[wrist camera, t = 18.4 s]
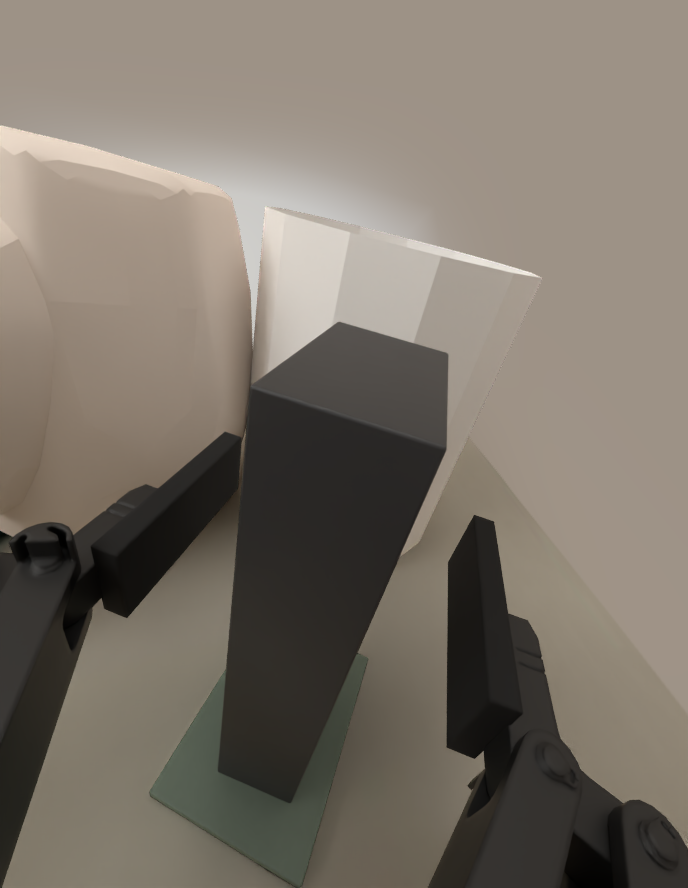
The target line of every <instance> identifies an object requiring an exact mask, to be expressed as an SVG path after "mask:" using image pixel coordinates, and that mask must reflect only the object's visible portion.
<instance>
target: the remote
mask: <svg viewBox="0 0 688 888" xmlns="http://www.w3.org/2000/svg"><path fill="white" fill-rule="evenodd" d="M448 357H449V356H448V353H446V352H442V351H439V350H435V349H432V348H428V347H425V346H422V345H418V344H415V343H411V342H408V341H404V340H401V339H397V338H394V337H390V336H387V335H384V334H380V333H377V332H373V331H370V330H366V329H363V328H359V327H356V326H353V325H349V324H346V323H342V322H337V323H336V324H334V325H333V326H332V327H330V328H329V329H327V330H326V331H325V332H323V333H322V334H321V335H319V336H318V337H316V338H315V339H314V340H312V341H311V342H310V343H308V344H307V345H306V346H304V347H303V348H301V349H300V350H299V351H297V352H296V353H295V354H293V355H292V356H290V357H289V358H288V359H286V360H285V361H284V362H282V363H281V364H279V365H278V366H277V367H275V368H274V369H273V370H271V371H270V372H269V373H267V374H266V375H264V376H263V377H262V378H260V379H259V380H258V381H256V382H255V383H253V384H252V385H251V387H250V394H249V406H248V417H247V429H246V441H245V453H244V465H243V476H242V488H241V500H240V512H239V523H238V535H237V547H236V559H235V571H234V582H233V594H232V606H231V618H230V629H229V641H228V653H227V665H226V677H225V688H224V700H223V712H222V724H221V736H220V747H219V759H218V772H219V773H222V774H224V775H226V776H228V777H231V778H233V779H235V780H238V781H240V782H242V783H244V784H247V785H249V786H251V787H253V788H256V789H258V790H260V791H262V792H265V793H267V794H269V795H271V796H274V797H276V798H278V799H281V800H283V801H285V802H287V803H291V802H292V800H293V798H294V796H295V793H296V791H297V789H298V787H299V784H300V782H301V780H302V778H303V775H304V773H305V771H306V768H307V766H308V764H309V762H310V759H311V757H312V755H313V753H314V750H315V748H316V746H317V743H318V741H319V739H320V737H321V734H322V732H323V730H324V728H325V725H326V723H327V721H328V718H329V716H330V714H331V712H332V709H333V707H334V705H335V703H336V700H337V698H338V696H339V693H340V691H341V689H342V687H343V684H344V682H345V680H346V678H347V675H348V673H349V671H350V668H351V666H352V664H353V662H354V659H355V657H356V655H357V652H358V650H359V648H360V646H361V643H362V641H363V639H364V637H365V634H366V632H367V630H368V627H369V625H370V623H371V621H372V618H373V616H374V614H375V612H376V609H377V607H378V605H379V602H380V600H381V598H382V596H383V593H384V591H385V589H386V587H387V584H388V582H389V580H390V577H391V575H392V573H393V571H394V568H395V566H396V564H397V562H398V559H399V557H400V555H401V552H402V550H403V548H404V546H405V543H406V541H407V539H408V537H409V534H410V532H411V530H412V527H413V525H414V523H415V521H416V518H417V516H418V514H419V512H420V509H421V507H422V505H423V502H424V500H425V498H426V496H427V493H428V491H429V489H430V487H431V484H432V482H433V480H434V477H435V475H436V473H437V471H438V468H439V466H440V464H441V462H442V459H443V457H444V455H445V452H446V450H447V406H448Z"/></svg>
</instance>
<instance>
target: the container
mask: <svg viewBox="0 0 688 888" xmlns="http://www.w3.org/2000/svg"><path fill="white" fill-rule="evenodd" d="M541 281H542V278H541V277H539V276H537V275H534V274H533V273H530V272H527V271H523V270H520V269H517V268H514V267H510V266H507V265H504V264H500V263H497V262H493V261H490V260H486V259H482V258H479V257H475V256H471V255H468V254H465V253H461V252H458V251H454V250H450V249H446V248H442V247H439V246H435V245H431V244H427V243H423V242H420V241H415V240H412V239H408V238H404V237H400V236H396V235H392V234H389V233H384V232H381V231H377V230H373V229H369V228H365V227H360V226H356V225H352V224H348V223H344V222H340V221H336V220H331V219H327V218H323V217H319V216H314V215H310V214H305V213H301V212H296V211H291V210H286V209H282V208H275V207H265V215H264V226H263V238H262V249H261V261H260V273H259V286H258V297H257V309H256V320H255V333H254V345H253V356H252V368H251V380H250V387H251V385H252V384H253V383H255V382H256V381H258V380H259V379H260V378H262V377H263V376H264V375H266V374H267V373H269V372H270V371H271V370H273V369H274V368H275V367H277V366H278V365H279V364H281V363H282V362H284V361H285V360H286V359H288V358H289V357H290V356H292V355H293V354H295V353H296V352H297V351H299V350H300V349H301V348H303V347H304V346H306V345H307V344H308V343H310V342H311V341H312V340H314V339H315V338H316V337H318V336H319V335H321V334H322V333H323V332H325V331H326V330H327V329H329V328H330V327H332V326H333V325H334V324H336V323H337V322H342V323H346V324H349V325H353V326H356V327H359V328H363V329H366V330H370V331H373V332H377V333H380V334H384V335H387V336H390V337H394V338H397V339H401V340H404V341H408V342H411V343H415V344H418V345H422V346H425V347H428V348H432V349H435V350H439V351H442V352H446V353H448V356H449V357H448V406H447V450H446V452H445V455H444V457H443V459H442V462H441V464H440V466H439V468H438V471H437V473H436V475H435V477H434V480H433V482H432V484H431V487H430V489H429V491H428V493H427V496H426V498H425V500H424V502H423V505H422V507H421V509H420V512H419V514H418V516H417V518H416V521H415V523H414V525H413V527H412V530H411V532H410V534H409V537H408V539H407V541H406V543H405V546H404V548H403V550H402V552H401V555H400V557H401V556H402V555H403V554H405V553H406V552H407V551H409V550H410V549H411V548H412V547H414V546H415V545H416V544H418V543H419V542H420V540H421V537H422V535H423V533H424V531H425V529H426V527H427V525H428V522H429V520H430V518H431V516H432V514H433V512H434V510H435V507H436V505H437V503H438V501H439V499H440V497H441V495H442V493H443V490H444V488H445V486H446V484H447V482H448V480H449V478H450V475H451V473H452V471H453V469H454V467H455V465H456V463H457V460H458V458H459V456H460V454H461V452H462V450H463V448H464V445H465V443H466V441H467V439H468V437H469V435H470V433H471V431H472V428H473V426H474V424H475V422H476V420H477V418H478V415H479V413H480V411H481V409H482V407H483V405H484V403H485V400H486V398H487V396H488V394H489V392H490V390H491V388H492V386H493V383H494V381H495V379H496V377H497V375H498V373H499V371H500V368H501V366H502V364H503V362H504V360H505V358H506V356H507V354H508V351H509V349H510V347H511V345H512V343H513V341H514V339H515V336H516V334H517V332H518V330H519V327H520V326H521V324H522V321H523V319H524V317H525V315H526V313H527V310H528V309H529V306H530V304H531V302H532V300H533V298H534V296H535V294H536V292H537V289H538V287H539V285H540V283H541ZM246 429H247V427H246ZM245 441H246V439H245ZM244 453H245V450H244ZM243 465H244V462H243ZM242 476H243V474H242ZM241 488H242V486H241ZM400 557H399V558H400Z"/></svg>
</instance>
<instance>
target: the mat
mask: <svg viewBox="0 0 688 888" xmlns="http://www.w3.org/2000/svg"><path fill="white" fill-rule="evenodd" d="M367 661H368V658H367V657H365V656H363V655H361V654H358V653H357V655H356V657H355V659H354V662H353V664H352V666H351V668H350V671H349V673H348V675H347V678H346V680H345V682H344V684H343V687H342V689H341V691H340V693H339V696H338V698H337V700H336V703H335V705H334V707H333V709H332V712H331V714H330V716H329V718H328V721H327V723H326V725H325V728H324V730H323V732H322V734H321V737H320V739H319V741H318V743H317V746H316V748H315V750H314V753H313V755H312V757H311V759H310V762H309V764H308V766H307V768H306V771H305V773H304V775H303V778H302V780H301V782H300V784H299V787H298V789H297V791H296V793H295V796H294V798H293V800H292V802H291V803H287V802H285V801H283V800H281V799H278V798H276V797H274V796H271V795H269V794H267V793H265V792H262V791H260V790H258V789H256V788H253V787H251V786H249V785H247V784H244V783H242V782H240V781H238V780H235V779H233V778H231V777H228V776H226V775H224V774H222V773H219V772H218V759H219V747H220V736H221V724H222V712H223V700H224V688H225V677H226V670H225V671H224V673H223V675H222V676H221V678H220V679H219V681H218V683H217V684H216V686H215V687H214V689H213V691H212V692H211V694H210V695H209V697H208V699H207V700H206V702H205V703H204V705H203V707H202V708H201V710H200V711H199V713H198V715H197V716H196V718H195V719H194V721H193V723H192V724H191V726H190V727H189V729H188V731H187V732H186V734H185V735H184V737H183V739H182V740H181V742H180V743H179V745H178V747H177V748H176V750H175V752H174V753H173V755H172V756H171V758H170V760H169V761H168V763H167V764H166V766H165V768H164V769H163V771H162V772H161V774H160V776H159V777H158V779H157V780H156V782H155V784H154V785H153V787H152V788H151V790H150V792H149V793H150V796H151V797H152V798H154V799H156V800H157V801H159V802H160V803H162V804H164V805H165V806H167V807H168V808H170V809H171V810H173V811H175V812H176V813H178V814H179V815H181V816H183V817H184V818H186V819H187V820H189V821H191V822H192V823H194V824H195V825H197V826H199V827H200V828H202V829H203V830H205V831H207V832H208V833H210V834H211V835H213V836H214V837H216V838H218V839H219V840H221V841H222V842H224V843H226V844H227V845H229V846H230V847H232V848H234V849H235V850H237V851H238V852H240V853H242V854H243V855H245V856H246V857H248V858H250V859H251V860H253V861H254V862H256V863H257V864H259V865H261V866H262V867H264V868H265V869H267V870H269V871H270V872H272V873H273V874H275V875H277V876H278V877H280V878H281V879H283V880H285V881H286V882H288V883H289V884H291V885H292V886H294V887H296V888H301V887H302V884H303V880H304V877H305V874H306V870H307V867H308V863H309V860H310V856H311V853H312V850H313V846H314V843H315V839H316V836H317V832H318V829H319V826H320V822H321V819H322V815H323V812H324V809H325V805H326V802H327V798H328V795H329V791H330V788H331V785H332V781H333V778H334V774H335V771H336V767H337V764H338V761H339V757H340V754H341V750H342V747H343V743H344V740H345V737H346V733H347V730H348V726H349V723H350V720H351V716H352V713H353V709H354V706H355V702H356V699H357V696H358V692H359V689H360V685H361V682H362V678H363V675H364V672H365V668H366V665H367Z"/></svg>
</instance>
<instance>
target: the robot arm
mask: <svg viewBox="0 0 688 888" xmlns="http://www.w3.org/2000/svg"><path fill="white" fill-rule="evenodd" d="M241 442H242V437H240V436H237V435H234V434H231V433H228V432H224V433H223V434H221V435H220V436H219V437H218V438H217V439H215V440H214V441H213V442H212V443H211V444H210V445H208V446H207V447H206V448H205V449H204V450H203V451H201V452H200V453H199V454H198V455H197V456H195V457H194V458H193V459H192V460H191V461H190V462H188V463H187V464H186V465H185V466H184V467H183V468H181V469H180V470H179V471H178V472H177V473H176V474H174V475H173V476H172V477H171V478H170V479H168V480H167V481H166V482H165V483H164V484H163V485H161V486H160V487H159V488H155V487H152V486H150V485H147V484H145V485H143V486H140V487H138V488H135V489H133V490H130V491H129V492H127V493H126V494H125V495H124V496H122V497H121V498H120V499H119V500H117V502H116V503H113V504H112V505H111V506H110V507H108V508H107V510H106V511H103V512H102V513H101V514H99V515H98V516H97V517H96V518H94V519H93V520H92V521H90V522H89V523H88V524H87V525H85V526H84V527H83V528H81V529H80V530H79V531H78V532H76V533H75V534H74V535H73V532H72V531H71V529H70V527H68V526H66V525H64V524H62V523H56V522H47V523H40V524H36V525H33V526H31V527H28V528H26V529H24V530H22V531H21V532H19V533H17V534H16V535H15V536H14V537H13V538H12V539H11V540H10V541H9V545H10V547H11V550H12V552H13V553H0V888H2V885H3V882H4V879H5V876H6V873H7V870H8V867H9V864H10V861H11V858H12V855H13V852H14V849H15V846H16V843H17V840H18V837H19V834H20V831H21V828H22V825H23V822H24V819H25V816H26V813H27V810H28V807H29V804H30V801H31V798H32V795H33V792H34V789H35V786H36V783H37V780H38V777H39V774H40V771H41V768H42V765H43V762H44V759H45V756H46V753H47V750H48V747H49V744H50V741H51V738H52V735H53V732H54V729H55V726H56V723H57V720H58V717H59V714H60V711H61V708H62V705H63V702H64V699H65V696H66V693H67V690H68V687H69V684H70V681H71V678H72V675H73V672H74V669H75V666H76V663H77V660H78V657H79V654H80V651H81V648H82V645H83V642H84V639H85V636H86V633H87V630H88V627H89V624H90V621H91V618H92V607H93V606H94V605H95V604H96V603H97V602H98V601H99V600H100V599H101V598H102V601H103V605H104V609H106V610H108V611H111V612H113V613H116V614H118V615H121V616H123V617H126V618H128V616H129V615H130V614H131V613H132V612H133V611H134V609H135V608H136V607H137V606H138V605H139V604H140V602H141V601H142V600H143V599H144V598H145V597H146V595H147V594H148V593H149V592H150V591H151V590H152V588H153V587H154V586H155V585H156V584H157V583H158V581H159V580H160V579H161V578H162V577H163V576H164V574H165V573H166V572H167V571H168V570H169V569H170V567H171V566H172V565H173V564H174V563H175V561H176V560H177V559H178V558H179V557H180V556H181V554H182V553H183V552H184V551H185V550H186V549H187V547H188V546H189V545H190V544H191V543H192V542H193V540H194V539H195V538H196V537H197V536H198V535H199V533H200V532H201V531H202V530H203V529H204V528H205V526H206V525H207V524H208V523H209V522H210V521H211V519H212V518H213V517H214V516H215V515H216V513H217V512H218V511H219V510H220V509H221V508H222V506H223V505H224V504H225V503H226V502H227V501H228V499H229V498H230V497H231V496H232V495H233V494H234V492H235V491H236V490H237V489H238V480H239V468H240V455H241ZM541 657H542V655H541V651H540V646H539V641H538V638H537V636H536V634H535V632H534V631H533V629H532V627H531V625H530V624H529V622H528V620H525V619H522V618H519V617H516V616H514V615H511V614H508V610H507V603H506V597H505V590H504V583H503V577H502V570H501V564H500V557H499V551H498V544H497V538H496V531H495V525H494V521H491V520H488V519H485V518H482V517H479V516H476V515H474V516H473V518H472V520H471V522H470V524H469V525H468V527H467V529H466V531H465V533H464V534H463V536H462V538H461V540H460V542H459V543H458V545H457V547H456V549H455V551H454V553H453V554H452V556H451V558H450V560H449V562H448V641H447V748H449V749H452V750H454V751H457V752H459V753H462V754H464V755H466V756H469V757H471V758H474V759H475V758H476V757H477V756H478V755H479V754H480V753H482V752H483V751H484V761H485V769H484V770H483V771H482V772H481V773H480V774H479V775H477V776H476V777H475V778H474V779H473V780H472V781H471V782H470V783H469V785H468V787H469V788H470V789H471V790H472V789H473V790H472V793H471V795H470V797H469V799H468V801H467V803H466V806H465V808H464V810H463V812H462V814H461V817H460V819H459V821H458V823H457V825H456V827H455V830H454V832H453V834H452V836H451V838H450V841H449V843H448V845H447V847H446V849H445V851H444V854H443V856H442V858H441V860H440V862H439V864H438V867H437V869H436V871H435V873H434V875H433V878H432V880H431V882H430V884H429V886H428V888H688V848H687V847H686V845H685V843H684V842H683V840H682V838H681V836H680V835H679V833H678V832H677V830H676V829H675V828H674V827H673V826H672V824H671V823H670V822H669V821H668V820H667V818H666V817H665V816H664V815H662V814H661V813H660V812H659V811H658V810H656V809H655V808H654V807H653V806H651V805H649V804H647V803H645V802H643V801H641V800H629V801H627V802H625V803H622V802H621V801H619V800H618V799H617V798H615V797H614V796H613V795H612V794H610V793H609V792H608V791H606V790H605V789H604V788H602V787H601V786H600V785H598V784H597V783H596V782H594V781H593V780H592V779H590V778H589V777H588V776H587V775H586V774H585V773H584V772H583V771H581V769H580V768H579V765H578V763H577V761H576V759H575V757H574V756H573V754H572V752H571V750H570V749H569V748H568V747H567V746H566V745H565V744H564V743H563V741H562V740H561V739H560V735H559V732H558V729H557V724H556V719H555V715H554V710H553V706H552V701H551V696H550V692H549V687H548V683H547V678H546V675H545V674H544V672H545V669H544V664H543V660H542V659H541Z"/></svg>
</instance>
